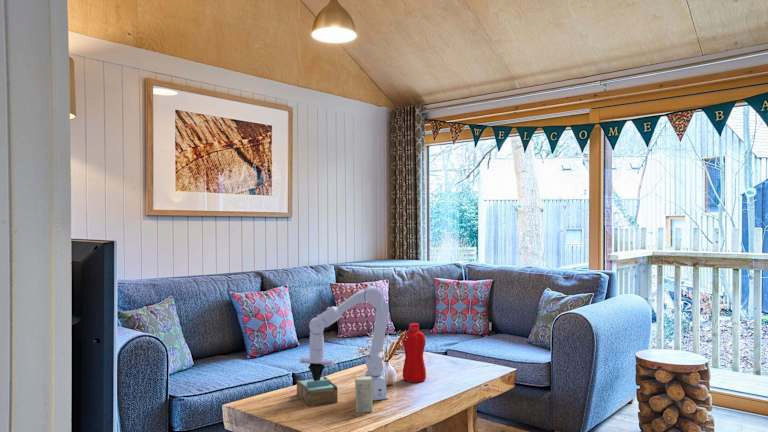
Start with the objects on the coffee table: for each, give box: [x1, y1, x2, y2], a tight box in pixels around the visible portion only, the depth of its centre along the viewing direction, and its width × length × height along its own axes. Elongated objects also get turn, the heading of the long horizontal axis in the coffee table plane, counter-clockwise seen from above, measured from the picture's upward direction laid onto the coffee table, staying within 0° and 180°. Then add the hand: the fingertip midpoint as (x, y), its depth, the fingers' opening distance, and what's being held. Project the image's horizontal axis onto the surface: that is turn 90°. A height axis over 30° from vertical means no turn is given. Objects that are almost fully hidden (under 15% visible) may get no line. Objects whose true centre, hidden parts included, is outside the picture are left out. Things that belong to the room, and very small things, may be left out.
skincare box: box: [354, 376, 374, 413], centre depth 215 cm, size 6×4×12 cm
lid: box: [299, 377, 334, 392], centre depth 230 cm, size 14×10×3 cm
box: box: [296, 376, 338, 407], centre depth 230 cm, size 16×12×6 cm
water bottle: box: [401, 322, 427, 383], centre depth 254 cm, size 9×11×25 cm
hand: (317, 382), depth 229 cm, fingers closed
